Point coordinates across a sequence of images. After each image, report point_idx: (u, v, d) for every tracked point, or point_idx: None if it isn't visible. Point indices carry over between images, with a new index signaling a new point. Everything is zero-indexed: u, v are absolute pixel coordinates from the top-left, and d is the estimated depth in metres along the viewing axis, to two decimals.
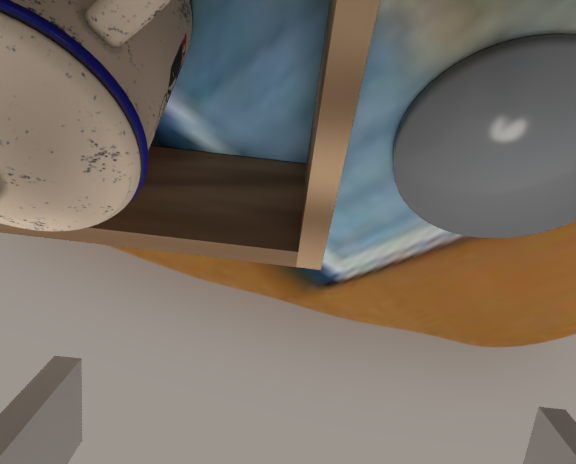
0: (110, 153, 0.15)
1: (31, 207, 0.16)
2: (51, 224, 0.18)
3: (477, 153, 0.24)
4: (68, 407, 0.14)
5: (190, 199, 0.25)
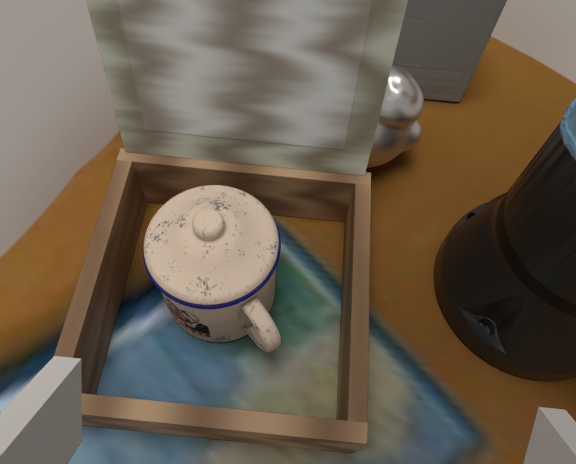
0: (206, 291, 0.31)
1: (184, 245, 0.31)
2: (156, 244, 0.32)
3: None
4: (68, 407, 0.14)
5: (99, 318, 0.36)
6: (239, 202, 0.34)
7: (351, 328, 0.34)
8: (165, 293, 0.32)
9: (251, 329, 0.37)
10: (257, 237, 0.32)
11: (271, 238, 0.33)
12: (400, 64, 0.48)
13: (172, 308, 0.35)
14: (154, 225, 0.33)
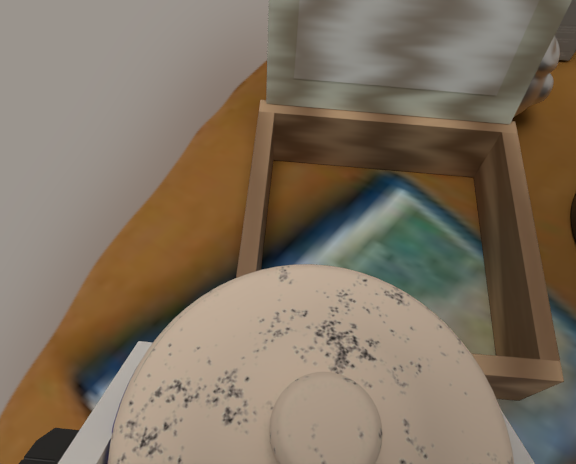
0: None
1: None
2: None
3: None
4: None
5: (258, 267, 0.35)
6: (393, 326, 0.12)
7: (525, 270, 0.33)
8: None
9: None
10: (463, 454, 0.10)
11: (498, 451, 0.11)
12: None
13: None
14: (144, 392, 0.11)
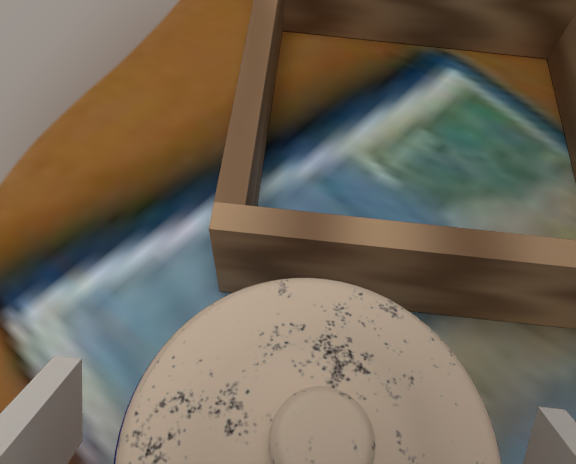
0: None
1: None
2: None
3: None
4: (68, 407, 0.14)
5: (261, 135, 0.24)
6: (388, 340, 0.12)
7: None
8: None
9: None
10: (453, 462, 0.11)
11: (487, 459, 0.11)
12: None
13: None
14: (149, 403, 0.11)
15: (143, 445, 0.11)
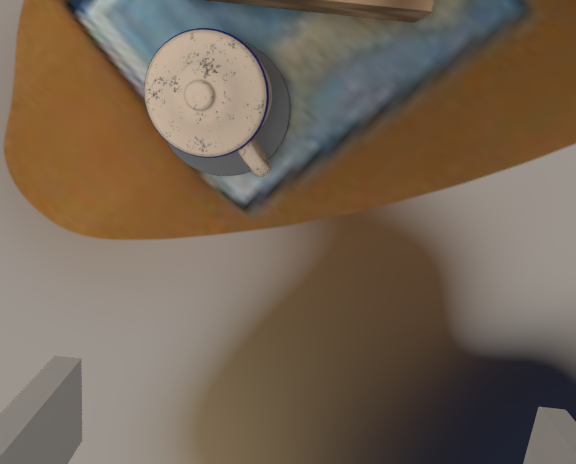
0: (203, 148, 0.37)
1: (180, 111, 0.35)
2: (155, 101, 0.36)
3: None
4: (68, 407, 0.14)
5: None
6: (228, 58, 0.35)
7: None
8: (170, 143, 0.37)
9: (249, 142, 0.43)
10: (245, 98, 0.35)
11: (259, 97, 0.36)
12: None
13: None
14: (151, 80, 0.36)
15: (151, 93, 0.36)
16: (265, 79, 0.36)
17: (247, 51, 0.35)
